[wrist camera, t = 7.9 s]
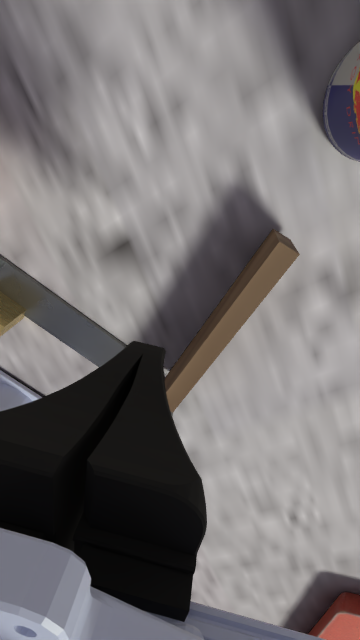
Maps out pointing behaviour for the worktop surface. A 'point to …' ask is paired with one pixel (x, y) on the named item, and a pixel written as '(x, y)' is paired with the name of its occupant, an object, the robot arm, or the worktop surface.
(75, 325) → the frame
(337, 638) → the plant saucer
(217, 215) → the worktop surface
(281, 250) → the brown long flat bar
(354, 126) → the energy drink
